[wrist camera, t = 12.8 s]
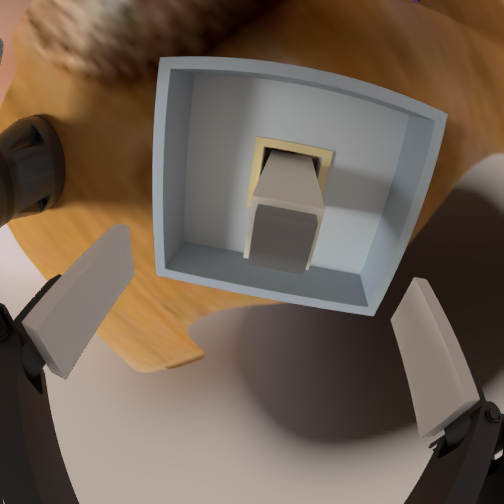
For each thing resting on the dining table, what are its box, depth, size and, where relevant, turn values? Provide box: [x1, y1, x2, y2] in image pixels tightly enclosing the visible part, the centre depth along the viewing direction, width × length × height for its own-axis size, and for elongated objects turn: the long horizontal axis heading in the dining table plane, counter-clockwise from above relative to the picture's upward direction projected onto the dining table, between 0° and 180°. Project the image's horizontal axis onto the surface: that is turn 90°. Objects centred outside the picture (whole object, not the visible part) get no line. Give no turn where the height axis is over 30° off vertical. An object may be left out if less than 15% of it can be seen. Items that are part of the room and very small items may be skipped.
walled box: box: [152, 57, 448, 316], centre depth 24 cm, size 22×20×8 cm
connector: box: [243, 150, 325, 275], centre depth 21 cm, size 4×4×15 cm
